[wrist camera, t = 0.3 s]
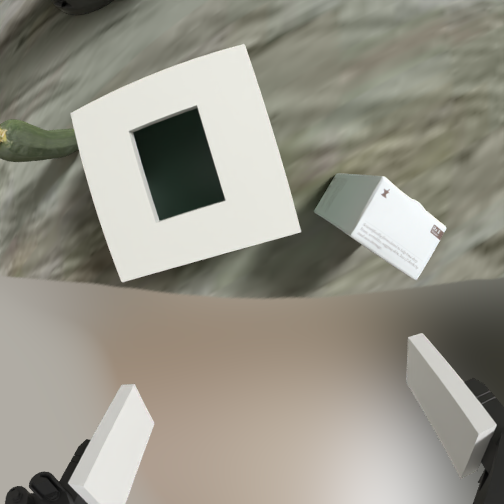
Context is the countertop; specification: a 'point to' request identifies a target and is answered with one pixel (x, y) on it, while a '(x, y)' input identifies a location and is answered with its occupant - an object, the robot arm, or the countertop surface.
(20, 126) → the vegetable
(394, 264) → the skincare box
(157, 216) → the box
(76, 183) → the countertop surface
